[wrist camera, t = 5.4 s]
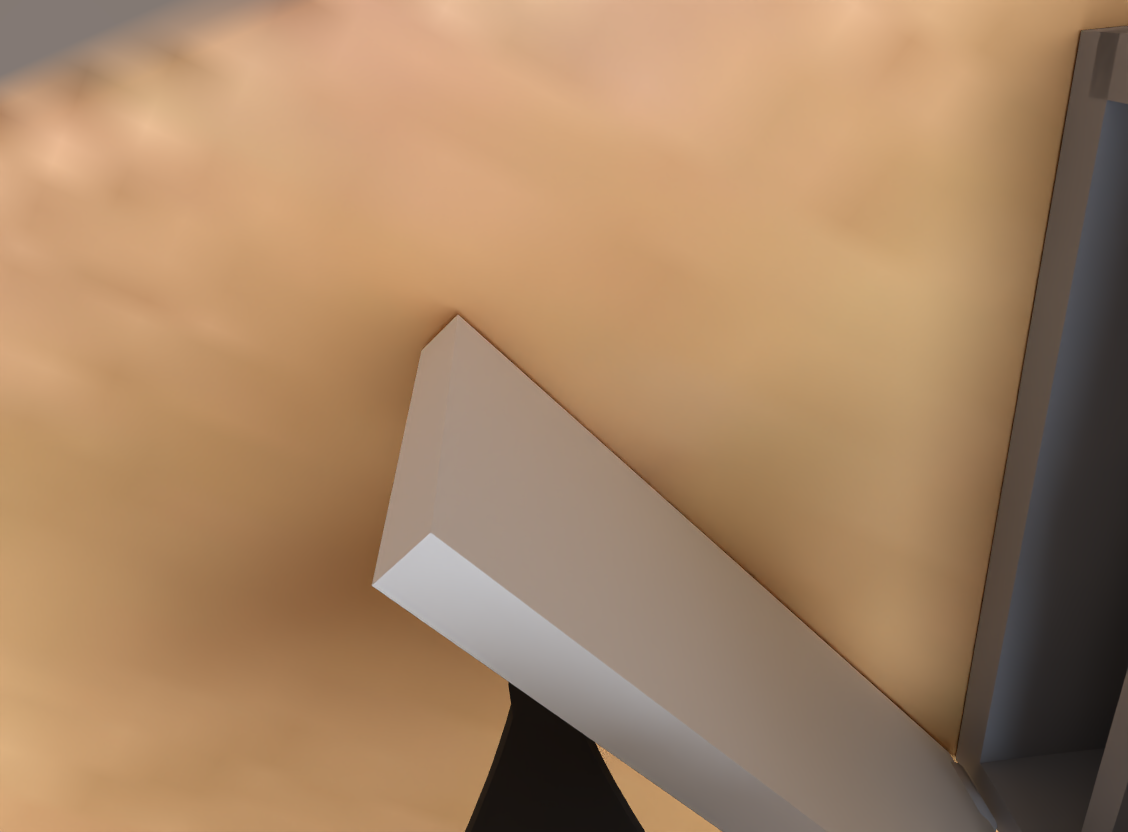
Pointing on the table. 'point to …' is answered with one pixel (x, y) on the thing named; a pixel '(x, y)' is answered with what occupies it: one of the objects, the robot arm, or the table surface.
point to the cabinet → (1065, 503)
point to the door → (638, 618)
